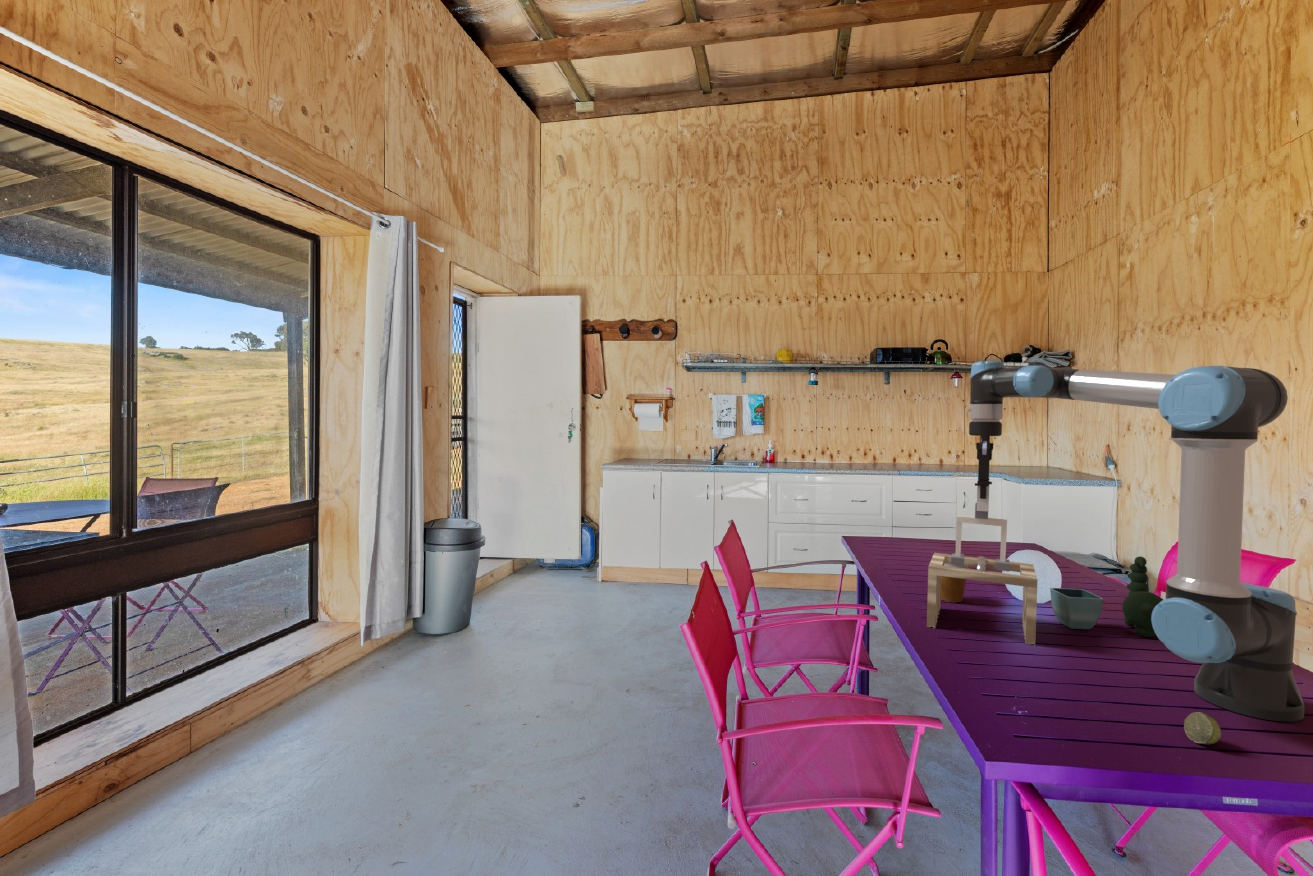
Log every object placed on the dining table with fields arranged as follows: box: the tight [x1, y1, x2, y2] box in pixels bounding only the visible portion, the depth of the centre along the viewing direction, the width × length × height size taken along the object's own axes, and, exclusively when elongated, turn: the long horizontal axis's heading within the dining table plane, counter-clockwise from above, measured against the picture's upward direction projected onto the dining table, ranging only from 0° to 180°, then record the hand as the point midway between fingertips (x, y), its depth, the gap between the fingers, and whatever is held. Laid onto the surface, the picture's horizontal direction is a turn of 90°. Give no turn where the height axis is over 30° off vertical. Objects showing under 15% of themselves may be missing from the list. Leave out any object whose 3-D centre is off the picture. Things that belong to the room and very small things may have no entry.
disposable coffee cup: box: [941, 563, 970, 603], centre depth 178 cm, size 10×10×12 cm
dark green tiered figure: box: [1121, 555, 1164, 639], centre depth 154 cm, size 9×19×25 cm
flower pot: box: [1049, 587, 1104, 630], centre depth 156 cm, size 9×9×9 cm
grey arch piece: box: [951, 502, 1010, 572], centre depth 156 cm, size 5×13×16 cm, turn 61°
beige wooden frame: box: [926, 552, 1039, 646], centre depth 157 cm, size 18×24×17 cm
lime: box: [1183, 711, 1222, 745], centre depth 101 cm, size 4×5×5 cm
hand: (982, 509), depth 156 cm, fingers closed on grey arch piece, 3 cm apart
